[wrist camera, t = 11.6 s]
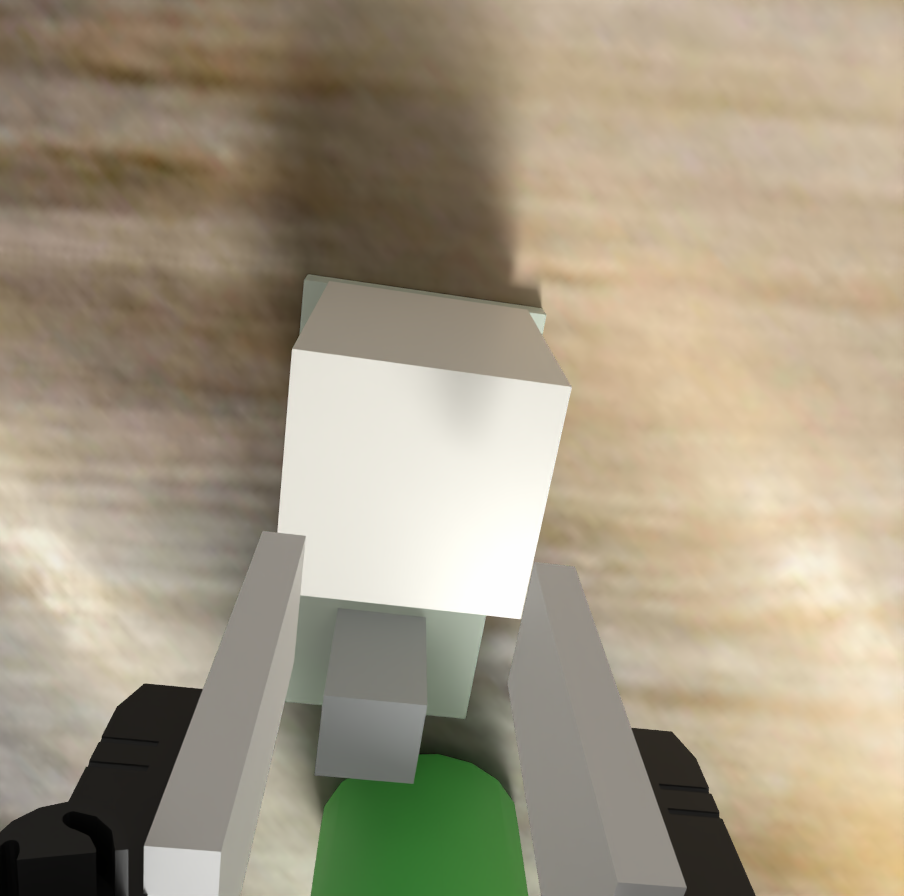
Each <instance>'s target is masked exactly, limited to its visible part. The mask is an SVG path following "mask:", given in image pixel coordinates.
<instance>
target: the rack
mask: <svg viewBox="0 0 904 896" xmlns="http://www.w3.org/2000/svg"><path fill="white" fill-rule="evenodd" d="M329 281H333V282H340V283H347V284H354V285H360V286H367V287H374V288H381V289H388V290H395V291H402V292H409V293H416V294H422V295H429V296H436V297H443V298H450V299H457V300H464V301H471V302H478V303H484V304H491V305H498V306H505V307H512V308H519V309H526V310H528V311H529V313H530V315H531V316H532V318H533V320H534V322H535V323H536V325H537V327H538V329H539V330H540V332H541V334H543V329H544V324H545V319H546V314H545V312H544V310H543V309H542V308H537V307H530V306H523V305H516V304H509V303H502V302H496V301H489V300H482V299H475V298H468V297H461V296H454V295H447V294H441V293H434V292H427V291H420V290H413V289H406V288H399V287H392V286H386V285H379V284H372V283H365V282H358V281H351V280H344V279H337V278H331V277H324V276H317V275H310V274H308V275H307V276H306V278H305V279H304V287H303V299H302V311H301V323H300V334H301V332H302V330H303V328H304V326H305V324H306V323H307V321H308V319H309V317H310V315H311V313H312V312H313V310H314V308H315V306H316V304H317V302H318V301H319V299H320V297H321V295H322V293H323V291H324V290H325V288H326V286H327V284H328V282H329ZM485 618H486V615H479V614H470V613H460V612H451V611H442V610H432V609H423V608H414V607H405V606H395V605H386V604H377V603H368V602H358V601H349V600H340V599H330V598H321V597H312V596H303V595H300V603H299V614H298V624H297V635H296V645H295V656H294V664H293V668H292V672H291V677H290V681H289V685H288V690H287V694H286V699H285V702H293V703H304V704H314V705H322V714H321V722H320V731H319V740H318V749H317V757H316V766H315V775H317V776H328V777H340V778H351V779H363V780H375V781H386V782H398V783H409V784H414V778H415V772H416V767H417V761H418V755H419V750H420V744H421V738H422V733H423V727H424V721H425V716H426V715H430V716H440V717H451V718H461V719H465V718H466V713H467V708H468V703H469V698H470V693H471V688H472V683H473V678H474V673H475V668H476V663H477V658H478V653H479V648H480V643H481V638H482V633H483V628H484V623H485Z"/></svg>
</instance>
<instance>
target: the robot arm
mask: <svg viewBox="0 0 904 896" xmlns="http://www.w3.org/2000/svg"><path fill="white" fill-rule="evenodd" d="M305 541H306V536H303V535H294V534H286V533H277V532H268V531H262V534H261V537H260V539H259V542H258V545H257V547H256V550H255V552H254V555H253V558H252V560H251V563H250V566H249V568H248V571H247V574H246V576H245V579H244V582H243V584H242V587H241V590H240V592H239V595H238V598H237V600H236V603H235V606H234V608H233V611H232V614H231V616H230V619H229V621H228V624H227V627H226V629H225V632H224V635H223V637H222V640H221V643H220V645H219V648H218V651H217V653H216V656H215V659H214V661H213V664H212V667H211V669H210V672H209V675H208V677H207V680H206V683H205V685H204V688H203V689H196V688H186V687H176V686H165V685H155V684H143V685H142V686H141V687H140V688H139V689H138V690H136V691H135V692H134V693H133V694H132V695H130V696H129V697H128V698H127V699H126V700H125V701H123V702H122V703H121V704H120V705H119V706H117V708H116V710H115V712H114V714H113V715H112V717H111V719H110V721H109V723H108V725H107V727H106V729H105V731H104V733H103V735H102V739H101V742H99V743H98V745H97V747H96V749H95V751H94V753H93V755H92V757H91V758H90V760H89V765H88V767H86V768H85V770H84V772H83V774H82V776H81V778H80V780H79V782H78V784H77V786H76V788H75V790H74V792H73V794H72V796H71V798H70V800H69V801H68V802H65V803H60V804H55V805H50V806H46V807H41V808H38V809H36V810H34V811H32V812H30V813H28V814H26V815H24V816H22V817H20V818H18V819H16V820H14V821H12V822H11V823H10V824H9V825H8V826H6V827H5V828H4V829H3V830H2V831H1V832H0V896H240V895H241V891H242V887H243V882H244V878H245V873H246V869H247V865H248V860H249V856H250V852H251V847H252V843H253V838H254V834H255V830H256V825H257V821H258V817H259V812H260V808H261V804H262V799H263V795H264V790H265V786H266V782H267V777H268V773H269V769H270V764H271V760H272V755H273V751H274V747H275V742H276V738H277V734H278V729H279V725H280V720H281V716H282V712H283V707H284V703H285V699H286V694H287V690H288V685H289V681H290V677H291V672H292V668H293V664H294V656H295V645H296V635H297V624H298V614H299V603H300V593H301V582H302V572H303V561H304V551H305ZM508 689H509V695H510V702H511V708H512V714H513V721H514V727H515V733H516V740H517V746H518V752H519V759H520V765H521V771H522V778H523V784H524V790H525V797H526V803H527V809H528V816H529V822H530V828H531V835H532V841H533V847H534V854H535V860H536V866H537V873H538V879H539V885H540V892H541V896H756V895H755V893H754V891H753V889H752V886H751V884H750V882H749V879H748V877H747V875H746V872H745V870H744V868H743V866H742V863H741V861H740V859H739V856H738V854H737V852H736V849H735V847H734V845H733V842H732V840H731V838H730V836H729V833H728V831H727V829H726V826H725V824H724V822H723V819H720V818H719V810H718V808H717V806H716V803H715V801H714V799H713V796H712V794H709V787H708V785H707V783H706V780H705V778H704V776H703V773H702V771H701V769H700V766H699V764H698V762H697V759H696V758H695V757H694V756H693V755H692V753H691V752H690V751H689V750H688V749H687V748H686V747H685V746H684V745H683V743H682V742H681V741H680V740H679V739H678V738H677V737H676V736H675V735H674V734H673V732H669V731H659V730H649V729H638V728H631V726H630V723H629V720H628V717H627V715H626V712H625V709H624V706H623V703H622V700H621V697H620V695H619V692H618V689H617V686H616V683H615V680H614V677H613V674H612V672H611V669H610V666H609V663H608V660H607V657H606V654H605V652H604V649H603V646H602V643H601V640H600V637H599V634H598V632H597V629H596V626H595V623H594V620H593V617H592V614H591V611H590V609H589V606H588V603H587V600H586V597H585V594H584V591H583V589H582V586H581V583H580V580H579V577H578V574H577V571H576V568H575V567H573V566H565V565H556V564H547V563H538V562H534V565H533V570H532V575H531V579H530V584H529V588H528V593H527V597H526V602H525V606H524V611H523V615H522V620H521V624H520V629H519V633H518V638H517V642H516V647H515V652H514V656H513V661H512V665H511V670H510V674H509V679H508Z"/></svg>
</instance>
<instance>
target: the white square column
mask: <svg viewBox="0 0 904 896" xmlns="http://www.w3.org/2000/svg"><path fill="white" fill-rule="evenodd" d="M571 388H572V387H571V385H570V383H569V381H568V380H567V378H566V376H565V374H564V373H563V371H562V369H561V367H560V366H559V364H558V362H557V360H556V359H555V357H554V355H553V353H552V352H551V350H550V348H549V346H548V345H547V343H546V341H545V339H544V338H543V336H542V334H541V332H540V330H539V329H538V327H537V325H536V323H535V322H534V320H533V318H532V316H531V315H530V313H529V311H528V310H526V309H519V308H512V307H505V306H498V305H491V304H484V303H478V302H471V301H464V300H457V299H450V298H443V297H436V296H429V295H422V294H416V293H409V292H402V291H395V290H388V289H381V288H374V287H367V286H360V285H354V284H347V283H340V282H333V281H329V282H328V284H327V286H326V288H325V290H324V291H323V293H322V295H321V297H320V299H319V301H318V302H317V304H316V306H315V308H314V310H313V312H312V313H311V315H310V317H309V319H308V321H307V323H306V324H305V326H304V328H303V330H302V332H301V334H300V335H299V337H298V339H297V341H296V343H295V345H294V346H293V348H292V357H291V369H290V382H289V394H288V407H287V419H286V432H285V444H284V457H283V469H282V481H281V494H280V506H279V519H278V531H277V533H286V534H294V535H303V536H306V541H305V551H304V561H303V572H302V582H301V593H300V595H303V596H312V597H321V598H330V599H340V600H349V601H358V602H368V603H377V604H386V605H395V606H405V607H414V608H423V609H432V610H442V611H451V612H460V613H470V614H479V615H488V616H497V617H507V618H516V619H521V615H522V610H523V606H524V601H525V597H526V592H527V588H528V583H529V578H530V574H531V569H532V565H533V560H534V556H535V551H536V547H537V542H538V538H539V533H540V529H541V524H542V519H543V515H544V510H545V506H546V501H547V497H548V492H549V488H550V483H551V479H552V474H553V470H554V465H555V460H556V456H557V451H558V447H559V442H560V438H561V433H562V429H563V424H564V420H565V415H566V411H567V406H568V402H569V397H570V392H571Z"/></svg>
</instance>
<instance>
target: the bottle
mask: <svg viewBox="0 0 904 896" xmlns="http://www.w3.org/2000/svg"><path fill="white" fill-rule="evenodd" d="M311 896H528V891H527V884H526V877H525V870H524V863H523V857H522V850H521V843H520V836H519V829H518V823H517V817H516V811H515V805H514V802H513V801H512V799H511V798H510V797H509V795H508V794H507V792H506V791H505V789H504V788H503V787H502V785H501V784H500V782H499V781H498V780H497V779H495V778H494V777H492V776H491V775H489V774H488V773H486V772H485V771H483V770H481V769H480V768H478V767H477V766H475V765H474V764H472V763H469V762H466V761H462V760H458V759H455V758H451V757H447V756H443V755H440V754H419V755H418V761H417V767H416V772H415V778H414V784H409V783H398V782H386V781H375V780H363V779H351V778H347V779H346V780H344V781H343V782H341V784H340V785H339V786H338V788H337V789H336V791H335V792H334V793H333V795H332V796H331V798H330V799H329V801H328V802H327V803H326V805H325V806H324V812H323V817H322V823H321V828H320V834H319V841H318V848H317V855H316V862H315V869H314V876H313V883H312V890H311Z"/></svg>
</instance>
